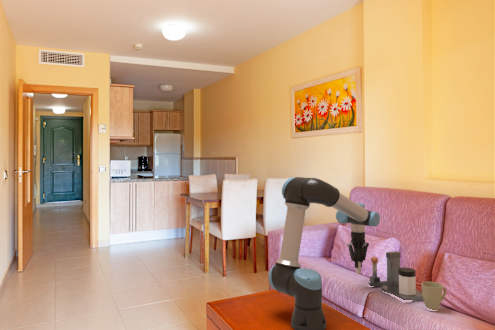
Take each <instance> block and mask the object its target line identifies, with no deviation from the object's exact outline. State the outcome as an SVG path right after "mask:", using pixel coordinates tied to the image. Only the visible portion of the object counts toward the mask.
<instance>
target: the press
mask: <svg viewBox="0 0 495 330" xmlns="http://www.w3.org/2000/svg"><path fill="white" fill-rule="evenodd" d="M401 255H402V254H401V252H400V251H397V250H395V251H387V252H385V258H386V280H382V281H381V280H380V283H377V284H373V283H371V282H368V284H369V285H370V286H379V287H380V291H381V290H382V291H384V292H387V293H390V294H393V295H395V296H397V297H399V298H401V299H403V300H413V301H418V302H424V300H423V296H422V291H419V290H417V289H416V295H410V296H407V295H403V294H400V293H399V274H398V269H399V268H401Z"/></svg>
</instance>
